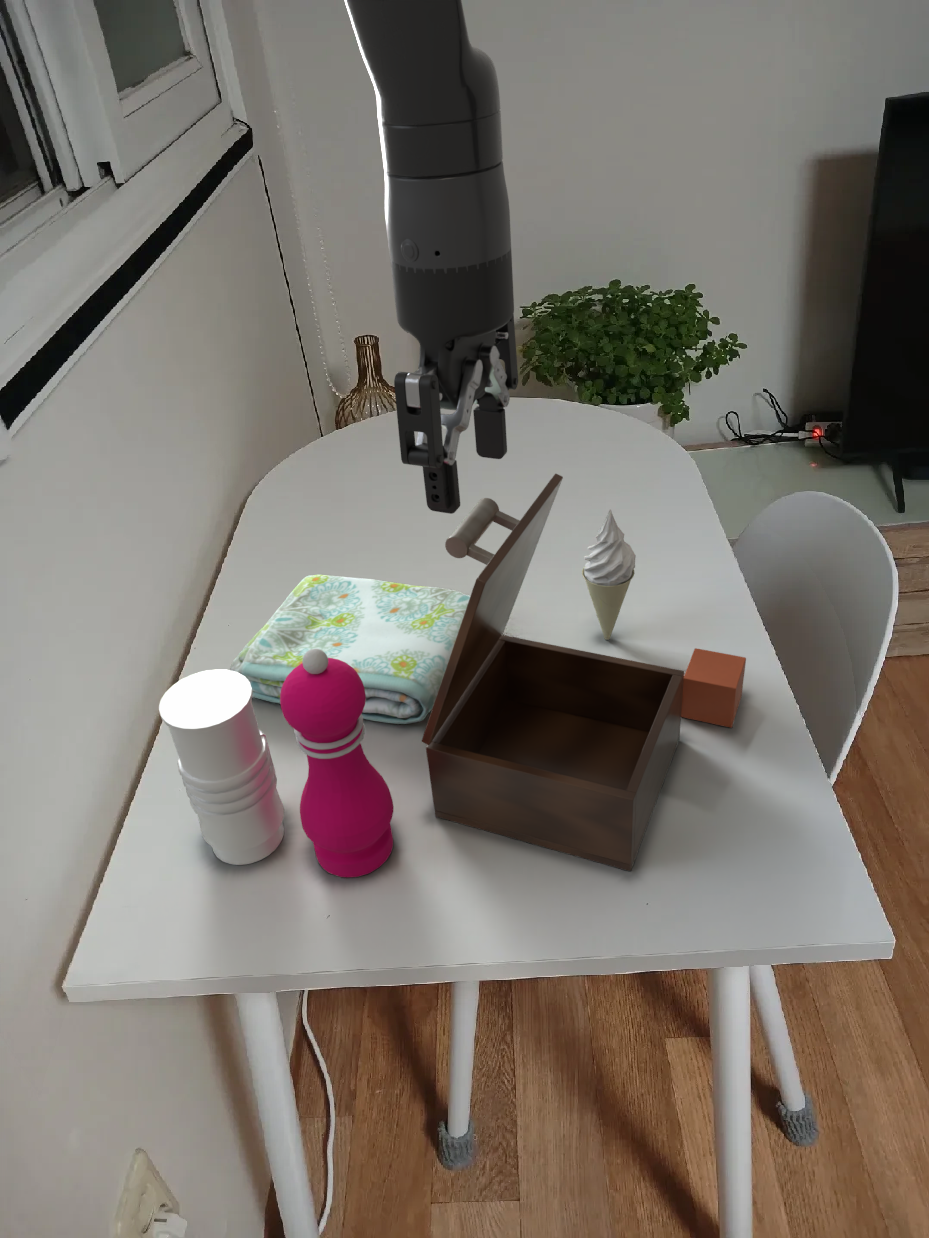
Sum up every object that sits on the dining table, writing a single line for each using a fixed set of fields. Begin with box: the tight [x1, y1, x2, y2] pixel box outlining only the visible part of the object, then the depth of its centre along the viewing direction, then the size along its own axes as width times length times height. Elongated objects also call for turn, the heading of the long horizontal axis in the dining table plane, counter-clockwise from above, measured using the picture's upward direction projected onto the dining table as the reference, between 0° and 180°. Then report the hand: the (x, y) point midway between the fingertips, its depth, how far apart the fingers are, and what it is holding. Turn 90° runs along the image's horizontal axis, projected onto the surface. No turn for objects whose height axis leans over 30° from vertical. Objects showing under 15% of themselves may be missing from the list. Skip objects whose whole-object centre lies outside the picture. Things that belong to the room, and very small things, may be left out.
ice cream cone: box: [581, 509, 637, 641], centre depth 92 cm, size 5×5×15 cm
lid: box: [421, 473, 564, 746], centre depth 74 cm, size 17×16×5 cm
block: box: [681, 647, 747, 729], centre depth 86 cm, size 5×5×5 cm
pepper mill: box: [280, 649, 394, 878], centre depth 71 cm, size 7×7×20 cm
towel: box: [229, 574, 471, 725], centre depth 95 cm, size 18×21×5 cm
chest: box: [425, 634, 685, 872], centre depth 79 cm, size 17×16×8 cm
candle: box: [158, 668, 285, 866], centre depth 74 cm, size 7×7×15 cm
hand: (469, 481), depth 68 cm, fingers open, 8 cm apart
